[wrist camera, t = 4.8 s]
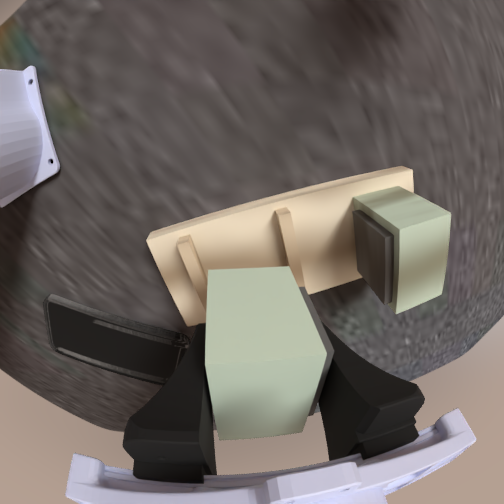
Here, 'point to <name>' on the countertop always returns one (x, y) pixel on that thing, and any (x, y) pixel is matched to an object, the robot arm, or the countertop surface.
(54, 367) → the countertop surface
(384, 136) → the countertop surface
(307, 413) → the block
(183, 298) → the block holder
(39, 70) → the countertop surface
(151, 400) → the robot arm
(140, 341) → the phone
